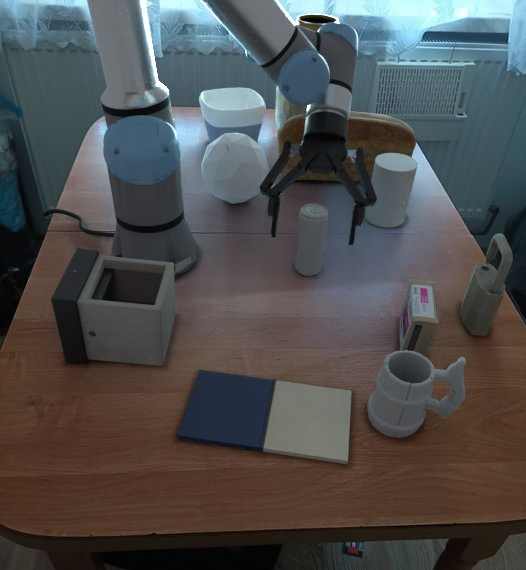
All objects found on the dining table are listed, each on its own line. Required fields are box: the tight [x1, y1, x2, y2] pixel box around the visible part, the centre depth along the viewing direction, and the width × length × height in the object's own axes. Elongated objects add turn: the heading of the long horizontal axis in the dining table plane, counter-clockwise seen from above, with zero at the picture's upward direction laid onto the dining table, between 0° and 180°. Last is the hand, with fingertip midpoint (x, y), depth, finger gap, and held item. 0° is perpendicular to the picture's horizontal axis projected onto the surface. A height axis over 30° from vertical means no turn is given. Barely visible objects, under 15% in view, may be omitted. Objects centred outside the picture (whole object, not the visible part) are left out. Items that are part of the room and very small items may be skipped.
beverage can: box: [294, 203, 329, 277], centre depth 94 cm, size 5×5×12 cm
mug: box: [366, 350, 467, 439], centre depth 70 cm, size 8×12×12 cm, turn 85°
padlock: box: [459, 233, 514, 337], centre depth 84 cm, size 4×8×15 cm, turn 176°
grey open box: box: [50, 247, 176, 367], centre depth 79 cm, size 12×14×12 cm
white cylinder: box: [364, 153, 419, 228], centre depth 109 cm, size 8×8×12 cm
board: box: [177, 369, 353, 465], centre depth 73 cm, size 22×12×1 cm, turn 81°
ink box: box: [399, 279, 440, 358], centre depth 82 cm, size 10×4×8 cm, turn 170°
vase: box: [274, 13, 340, 130], centre depth 132 cm, size 17×17×27 cm
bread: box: [277, 110, 417, 182], centre depth 122 cm, size 12×31×14 cm, turn 91°
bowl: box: [198, 87, 267, 144], centre depth 132 cm, size 15×15×11 cm
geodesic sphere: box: [200, 132, 270, 205], centre depth 111 cm, size 15×14×14 cm
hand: (311, 239), depth 94 cm, fingers open, 13 cm apart
